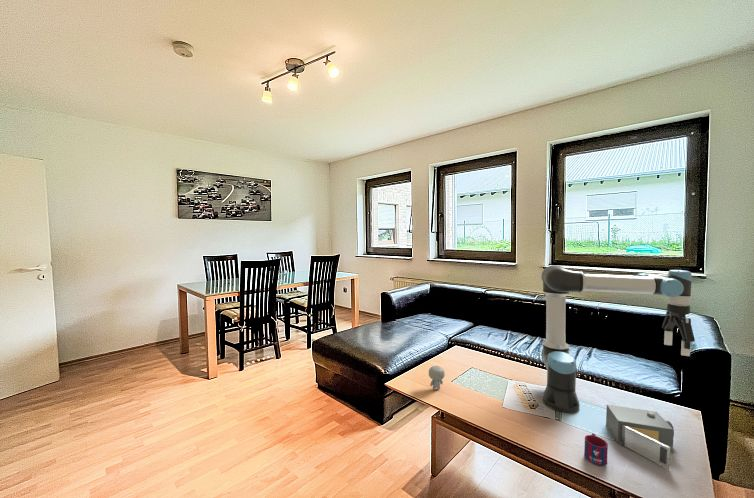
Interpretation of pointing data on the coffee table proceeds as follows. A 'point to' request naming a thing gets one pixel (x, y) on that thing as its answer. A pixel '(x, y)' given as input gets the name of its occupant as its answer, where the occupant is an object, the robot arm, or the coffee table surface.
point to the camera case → (639, 424)
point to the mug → (596, 450)
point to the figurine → (436, 376)
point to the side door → (646, 446)
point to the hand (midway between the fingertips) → (676, 350)
